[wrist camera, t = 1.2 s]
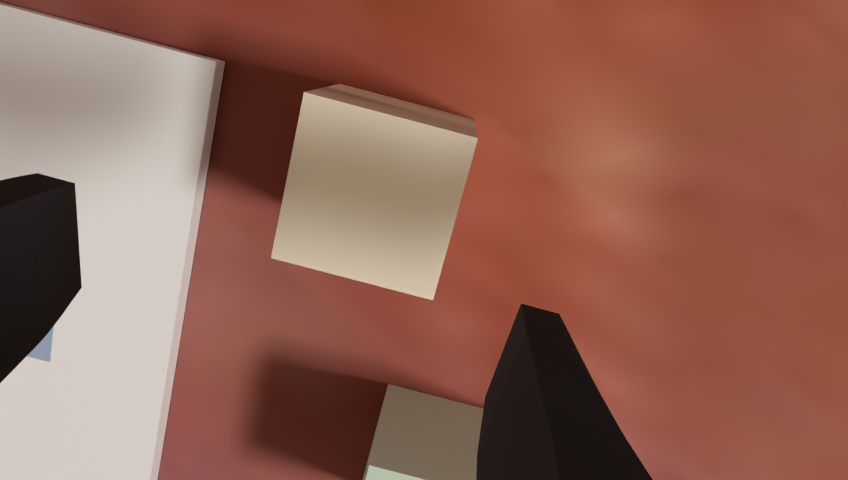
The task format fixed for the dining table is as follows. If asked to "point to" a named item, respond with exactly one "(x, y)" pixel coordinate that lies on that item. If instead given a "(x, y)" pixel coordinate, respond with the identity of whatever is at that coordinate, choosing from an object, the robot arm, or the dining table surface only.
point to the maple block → (374, 188)
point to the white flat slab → (105, 238)
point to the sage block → (424, 438)
